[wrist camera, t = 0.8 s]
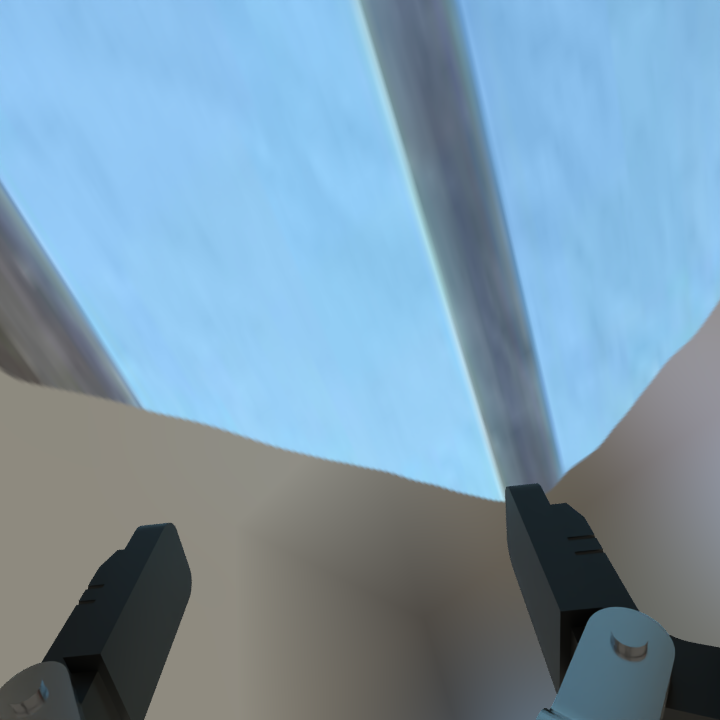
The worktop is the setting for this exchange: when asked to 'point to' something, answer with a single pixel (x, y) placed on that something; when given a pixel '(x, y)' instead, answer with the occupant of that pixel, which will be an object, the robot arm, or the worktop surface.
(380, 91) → the worktop surface
